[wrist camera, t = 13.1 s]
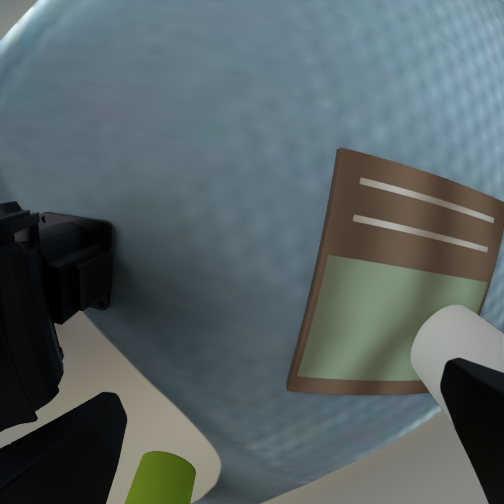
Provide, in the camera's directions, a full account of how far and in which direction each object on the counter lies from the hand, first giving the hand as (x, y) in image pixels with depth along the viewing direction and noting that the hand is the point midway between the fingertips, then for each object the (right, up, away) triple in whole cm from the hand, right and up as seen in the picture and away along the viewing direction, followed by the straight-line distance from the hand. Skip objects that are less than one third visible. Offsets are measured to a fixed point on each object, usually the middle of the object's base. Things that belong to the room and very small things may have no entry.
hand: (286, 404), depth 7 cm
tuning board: (+10, +1, +13) cm, 17 cm away
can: (+14, -3, +13) cm, 19 cm away
